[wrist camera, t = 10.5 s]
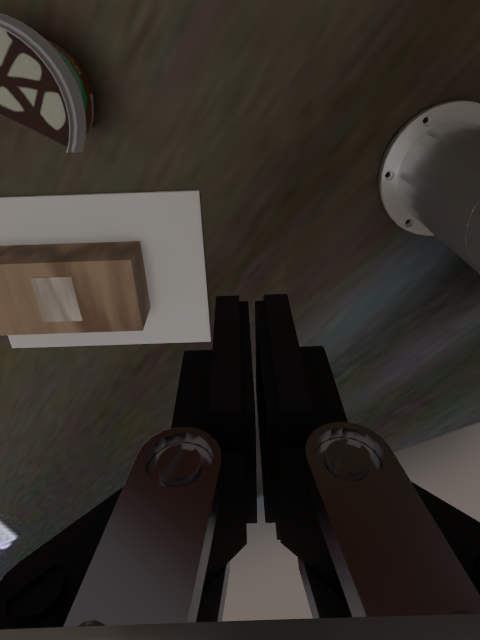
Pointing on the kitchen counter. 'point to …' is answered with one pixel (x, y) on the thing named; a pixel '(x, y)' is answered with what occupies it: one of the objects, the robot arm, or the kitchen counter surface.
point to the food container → (44, 86)
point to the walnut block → (72, 288)
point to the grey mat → (122, 226)
